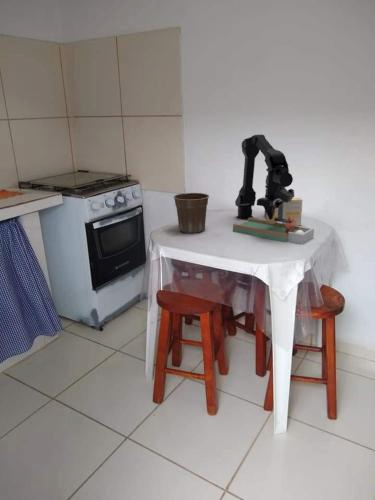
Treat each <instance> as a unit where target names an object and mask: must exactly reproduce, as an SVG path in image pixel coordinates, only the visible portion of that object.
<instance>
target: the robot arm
mask: <svg viewBox="0 0 375 500" xmlns="http://www.w3.org/2000/svg"><path fill="white" fill-rule="evenodd" d="M241 152H242V155H243V156H244V166H243V179H242V186H241V188H240V189H239V191H238V195H237V198H236V199H235V201H234V203H235V206H236V207H237V215H236V218H237V219H242V220H248V218H254V216H253V209H252V207H255V203H256V206H260V207H263V208H264V211H265V210H266V213H267V215H268V217H269V219H272V216H273V210H274V207H278V210H279V207H280V205H281V204H283V203H284V202H286V203H288V202H290V201H291V200H292V198H295V190H294V189H292V188H290V189H286V190H284V189H283V187H285V188H287V187H289V186H291V185H292V183H293V181H294V180H293V178H294V177H293V176H292V174H291V173H290V170H289V164H288V162H287V159H286V156H285V154H284V153H283V152H282V151H280V150H278V149H275V148H274V147H273V146H272V144H271V143H270V142H269V141H268V140H267V138H266V136H265V134H254V135H252V136H250V137H248V138H244V139H243V140H242V142H241ZM260 152H261V154H263V156H264V162H265V165H266V166H267V168H266V172H267V175H268V182H267V185H266V184H265V186H264V187H265V189H266V188H267V195H266V194H264V197H261V198H260V197H259V198H258V199H257V196H256V195H257V192H256V191H255V189H254V188H253V187H254V186H253V185H254V176H255V175H254V173H255V164H256V163H255V162H256V157H257V156H258V155H259V153H260ZM265 197H266V198H265ZM256 199H257V200H256ZM282 200H283V201H282Z"/></svg>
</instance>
